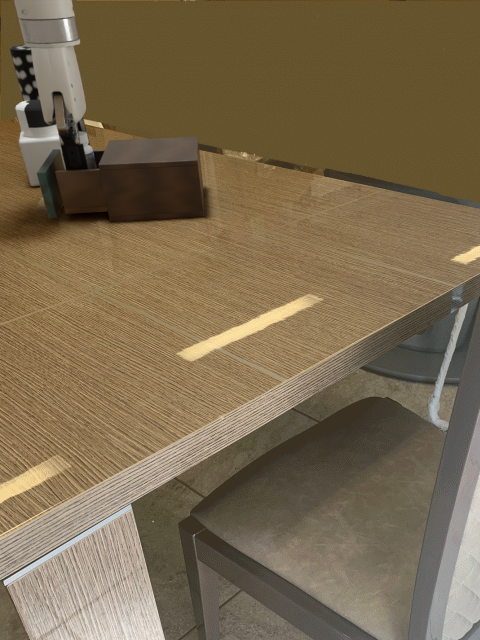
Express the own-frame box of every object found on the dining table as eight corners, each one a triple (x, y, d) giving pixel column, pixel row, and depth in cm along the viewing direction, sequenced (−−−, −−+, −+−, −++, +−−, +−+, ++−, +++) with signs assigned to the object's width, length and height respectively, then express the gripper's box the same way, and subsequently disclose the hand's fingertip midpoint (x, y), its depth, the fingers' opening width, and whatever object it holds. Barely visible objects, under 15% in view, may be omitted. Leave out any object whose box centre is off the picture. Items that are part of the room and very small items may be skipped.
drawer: (40, 218, 99) (27, 173, 95) (55, 191, 110) (45, 149, 105) (137, 213, 101) (129, 168, 97) (143, 187, 111) (136, 145, 107)
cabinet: (110, 221, 100) (98, 164, 95) (119, 192, 112) (109, 140, 107) (204, 216, 102) (197, 160, 97) (203, 188, 113) (197, 136, 108)
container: (74, 171, 122) (57, 95, 114) (76, 182, 116) (57, 104, 108) (31, 175, 120) (11, 98, 112) (30, 187, 114) (8, 107, 106)
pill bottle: (107, 188, 104) (95, 133, 99) (81, 196, 101) (68, 139, 96) (89, 183, 106) (78, 128, 101) (64, 190, 104) (51, 134, 98)
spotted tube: (45, 159, 129) (16, 44, 117) (88, 157, 129) (63, 43, 117) (36, 171, 122) (3, 50, 110) (80, 169, 123) (53, 49, 111)
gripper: (35, 26, 97) (65, 153, 108) (8, 41, 83) (46, 184, 95) (86, 25, 98) (110, 151, 109) (68, 39, 84) (98, 181, 95)
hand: (80, 165), depth 102 cm, fingers closed on pill bottle, 4 cm apart
